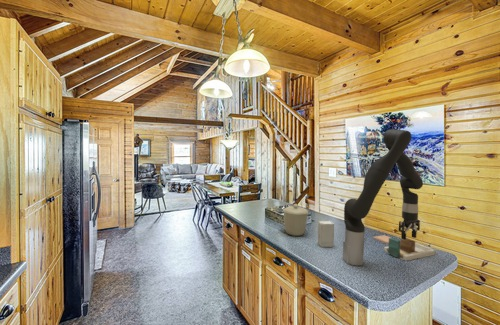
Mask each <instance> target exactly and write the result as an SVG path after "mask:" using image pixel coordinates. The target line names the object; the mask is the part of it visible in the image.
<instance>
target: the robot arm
mask: <svg viewBox="0 0 500 325" xmlns="http://www.w3.org/2000/svg"><path fill="white" fill-rule="evenodd" d="M382 138H383V140H382V141H383V143H384V145H385V147H386V149H387V151H388V152H387V153H386V154H384V155H383V156H382V157H380V158H377V160H376V161H374V162H372V164H370V166H369V168H368V170H367V171H366V173H365V176H364V179H363V180H364V181H363V188H362V190H361V193H360V194H359V196H358V198H349V199H348V200H346V202H345V203H344V208H343V222H344V225H345V226H344V227H345V229H344V230H345V234H344V241H343V244H342V259H343V261H344V262H345V263H346V264H347V265H352V266H363V265H364V257H365V256H364V252H365V250H364V249H365V231H366V230H365V229H366V228H365V227H366V226H365V225H364V223H363V221H362V220H363V219H365V218H366V217H367V216H368V214H369V213H370V210H371V208H372V206H373V203H374V201H375V199H376V197H377V195H378V194H379V192H380V190H381V188H382V187H383V185H384V183H385V182H386V180H387V179H388V177H389V176H390V173H391V171H392V169H393V168H394V167H395V164H396V166H397V168H398V171H399V174H400V176H401V178H400V180H399V184H400V188H401V193H402V205H401V206H402V208H401V218H402V219H403V221H401V220H399V222H398V232H400V234H401V237H400V238H401V239H404V240H406V238H407V232H408V231H409V230H410V229H411V237H412V238H414V239H417V233H418V231H420V229H421V226H420V225H421V220H419V195H418V194H417V193H415V192H413V191H412V190H420V189H422V188H423V185H424V182H423V179H422V177H421V176H420V175H419V173H418V172H417V170H416V169H415V166H414V163H413V161H412V160H411V159H410V157H409V156H408V155H407V154H406V153H405V150H407V148H408V147H409V144H410V142H411V140H412V134H411V131H408V130H406V129H394V128H393V129H391V128H390V129H387V130H386V131H385V132H384V133H383V137H382ZM411 189H412V190H411Z"/></svg>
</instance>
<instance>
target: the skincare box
mask: <svg viewBox="0 0 500 325" xmlns="http://www.w3.org/2000/svg"><path fill="white" fill-rule="evenodd" d="M317 223H318V224H317V225H318V227H317V231H318V232H317V244H318V245H319V246H320V248H334V247H335V246H334V245H335V242H334V241H335V223H334V222H333V221H332V220H320V221H319V220H318V222H317Z"/></svg>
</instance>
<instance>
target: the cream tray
mask: <svg viewBox="0 0 500 325" xmlns="http://www.w3.org/2000/svg"><path fill="white" fill-rule="evenodd" d="M388 249H389V245H388V246H384V247H383V251H384V252H385V253H388ZM415 251H417V253H412V254H408V255H403V258H401V257H397V258H398V259H400V260H403V261H405V262H408V261H413V260H417V258H418V259H422V258H425V257H431V256H435V255H437V250H436V249H434V248H432V247H428V246H426V245H423V244H420V243H418V242H415Z"/></svg>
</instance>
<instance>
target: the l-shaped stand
mask: <svg viewBox="0 0 500 325" xmlns="http://www.w3.org/2000/svg"><path fill="white" fill-rule="evenodd" d="M400 242H401V240H400V239H397V238H394V237H390V238H389V244H388V246H389V249H388V254H389V255H390V256H393V257H395V258H398V257H401V258H403V255H408V254H412V253H417V251H415V252H411V253H408V252H406V251H403V250H401V249H400Z"/></svg>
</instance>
